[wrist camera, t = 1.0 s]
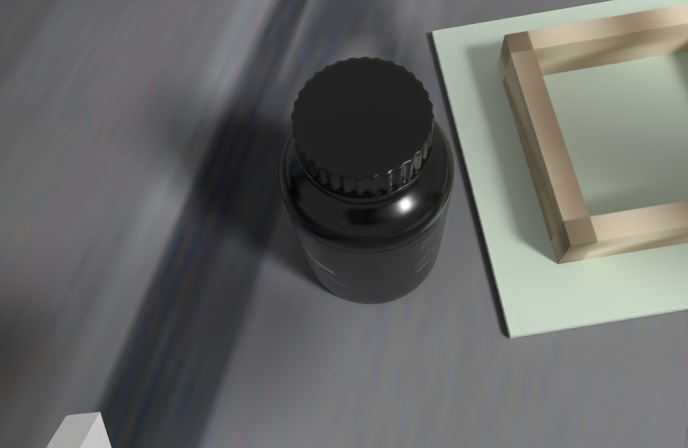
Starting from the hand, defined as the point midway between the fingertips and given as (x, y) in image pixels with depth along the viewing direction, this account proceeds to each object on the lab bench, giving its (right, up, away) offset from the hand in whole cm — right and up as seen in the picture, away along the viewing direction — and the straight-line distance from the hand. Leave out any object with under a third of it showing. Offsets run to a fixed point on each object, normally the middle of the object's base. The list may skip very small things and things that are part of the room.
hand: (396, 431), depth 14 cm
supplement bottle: (0, +4, +18) cm, 18 cm away
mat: (+14, +9, +19) cm, 25 cm away
